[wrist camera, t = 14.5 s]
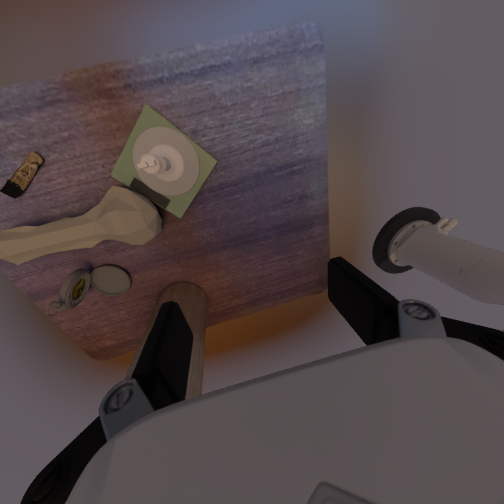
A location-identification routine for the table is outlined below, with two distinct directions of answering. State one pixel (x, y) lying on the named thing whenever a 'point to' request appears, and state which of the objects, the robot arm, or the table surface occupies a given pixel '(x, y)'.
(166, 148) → the chess piece
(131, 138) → the scale
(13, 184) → the ornate gold black bar
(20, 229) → the faceted club
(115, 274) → the pocket watch
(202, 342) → the planter
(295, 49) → the table surface
